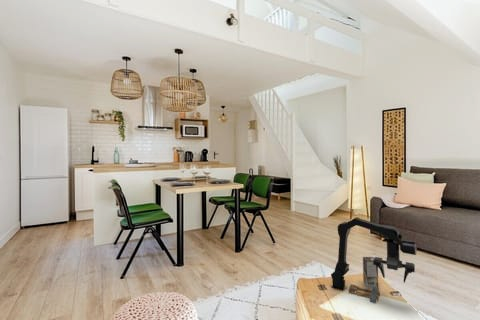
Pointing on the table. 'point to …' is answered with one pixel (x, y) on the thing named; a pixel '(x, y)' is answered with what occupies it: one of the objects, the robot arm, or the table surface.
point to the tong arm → (362, 293)
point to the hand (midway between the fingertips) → (393, 280)
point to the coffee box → (370, 273)
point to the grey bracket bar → (374, 294)
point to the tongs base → (361, 289)
